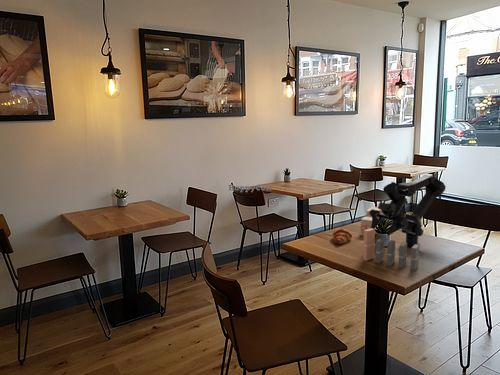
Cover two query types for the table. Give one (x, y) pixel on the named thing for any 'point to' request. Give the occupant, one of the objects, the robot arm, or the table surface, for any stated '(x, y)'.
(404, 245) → the domino
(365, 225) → the stack of blocks
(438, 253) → the table surface
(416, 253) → the domino
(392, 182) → the robot arm
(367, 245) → the domino
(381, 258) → the domino
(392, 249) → the domino
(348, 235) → the croissant
